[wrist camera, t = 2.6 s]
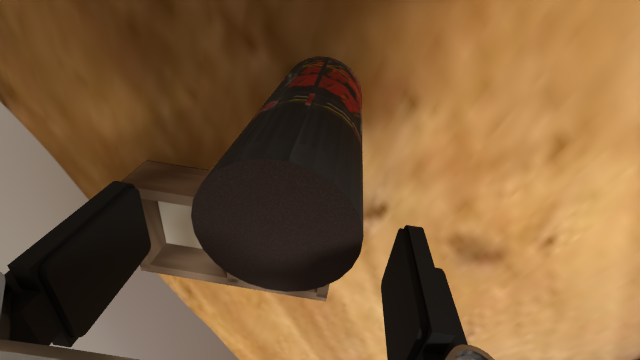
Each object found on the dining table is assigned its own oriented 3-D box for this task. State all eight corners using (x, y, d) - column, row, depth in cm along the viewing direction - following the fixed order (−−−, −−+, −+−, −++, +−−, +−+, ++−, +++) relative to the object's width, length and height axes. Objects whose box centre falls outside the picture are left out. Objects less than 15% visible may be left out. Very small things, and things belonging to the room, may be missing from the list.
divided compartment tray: (344, 192, 28) (342, 221, 24) (328, 271, 33) (325, 303, 30) (146, 160, 28) (117, 184, 25) (163, 243, 34) (142, 272, 30)
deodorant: (370, 124, 24) (381, 280, 11) (298, 143, 25) (238, 300, 13) (348, 44, 21) (332, 136, 9) (270, 71, 23) (156, 183, 10)
